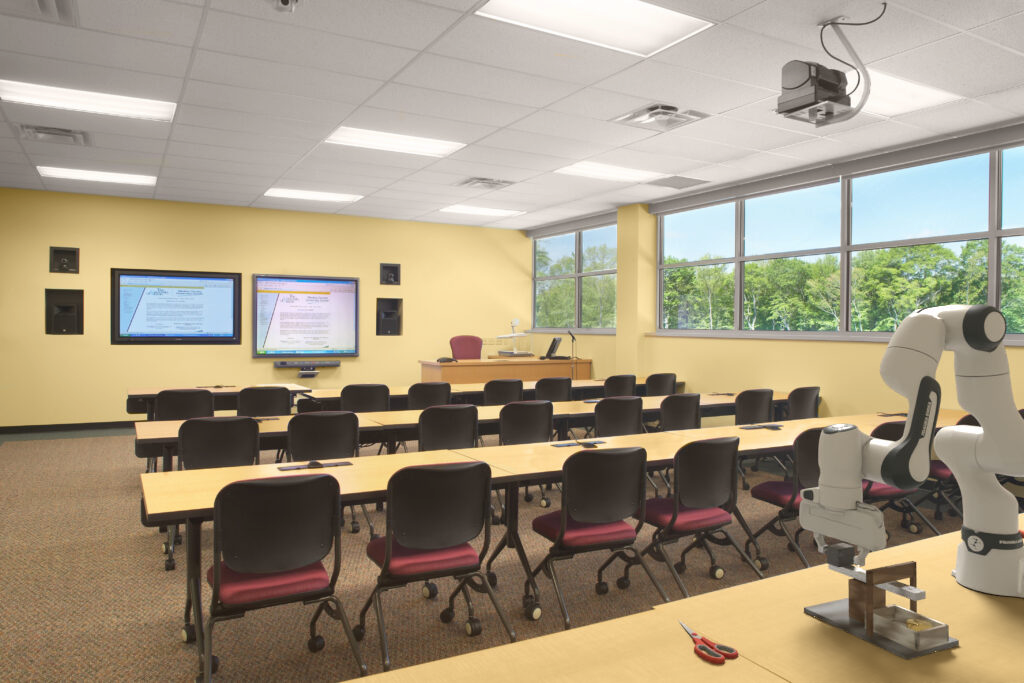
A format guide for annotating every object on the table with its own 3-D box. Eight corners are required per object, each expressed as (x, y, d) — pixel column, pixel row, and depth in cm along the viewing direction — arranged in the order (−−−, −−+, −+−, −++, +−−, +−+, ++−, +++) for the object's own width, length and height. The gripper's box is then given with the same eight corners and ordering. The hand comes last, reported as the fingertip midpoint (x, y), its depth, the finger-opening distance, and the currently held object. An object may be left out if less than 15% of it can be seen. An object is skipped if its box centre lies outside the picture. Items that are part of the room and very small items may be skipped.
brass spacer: (938, 626, 129) (938, 642, 129) (918, 617, 133) (918, 632, 133) (920, 629, 128) (921, 645, 128) (901, 620, 132) (901, 635, 132)
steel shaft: (825, 569, 148) (825, 544, 148) (841, 566, 150) (841, 542, 150) (911, 601, 129) (911, 573, 129) (929, 597, 131) (928, 570, 131)
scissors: (678, 618, 145) (678, 612, 145) (745, 660, 126) (745, 653, 126) (648, 624, 142) (648, 617, 142) (713, 668, 123) (713, 660, 123)
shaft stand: (803, 612, 147) (803, 549, 147) (851, 601, 153) (851, 540, 153) (907, 660, 125) (906, 585, 125) (958, 645, 131) (958, 574, 131)
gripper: (893, 506, 139) (893, 571, 139) (814, 486, 158) (814, 544, 158) (872, 509, 136) (872, 575, 136) (794, 489, 155) (794, 548, 155)
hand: (840, 559), depth 147 cm, fingers open, 8 cm apart
